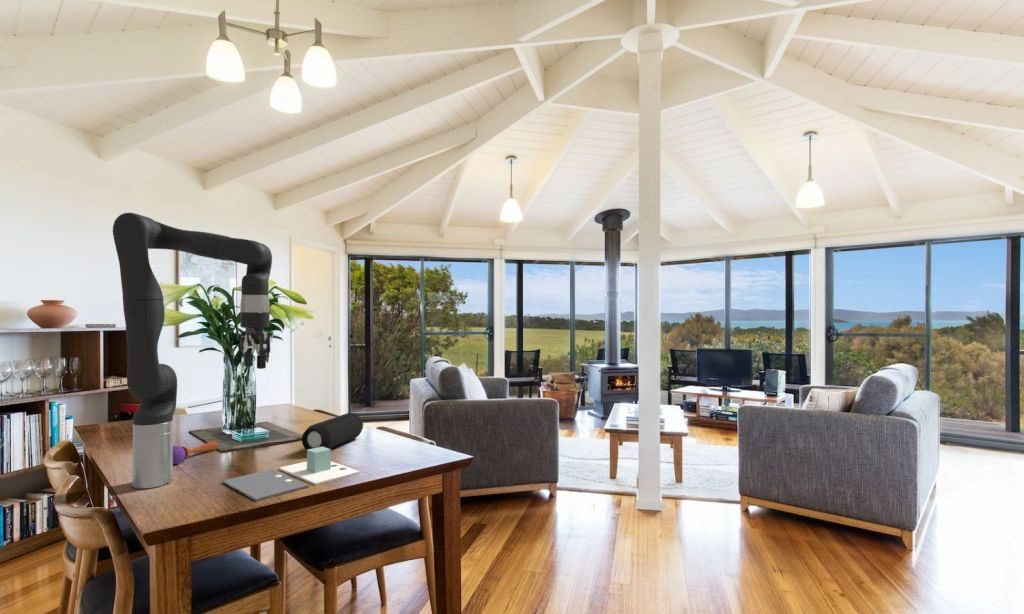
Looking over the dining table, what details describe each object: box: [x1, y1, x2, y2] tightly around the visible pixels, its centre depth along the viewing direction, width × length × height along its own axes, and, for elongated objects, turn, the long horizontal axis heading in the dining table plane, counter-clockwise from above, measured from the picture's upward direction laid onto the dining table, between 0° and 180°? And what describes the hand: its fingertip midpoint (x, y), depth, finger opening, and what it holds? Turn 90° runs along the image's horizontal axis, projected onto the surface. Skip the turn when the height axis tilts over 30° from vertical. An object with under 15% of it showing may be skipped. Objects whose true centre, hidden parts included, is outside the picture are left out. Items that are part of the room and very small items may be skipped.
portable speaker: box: [301, 412, 364, 451], centre depth 186 cm, size 26×10×10 cm, turn 165°
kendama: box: [173, 440, 218, 466], centre depth 170 cm, size 6×6×20 cm
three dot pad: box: [278, 460, 361, 486], centre depth 155 cm, size 22×14×1 cm, turn 49°
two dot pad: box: [221, 468, 310, 502], centre depth 143 cm, size 22×14×1 cm, turn 49°
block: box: [306, 447, 332, 473], centre depth 155 cm, size 5×5×6 cm
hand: (254, 367), depth 148 cm, fingers open, 8 cm apart
